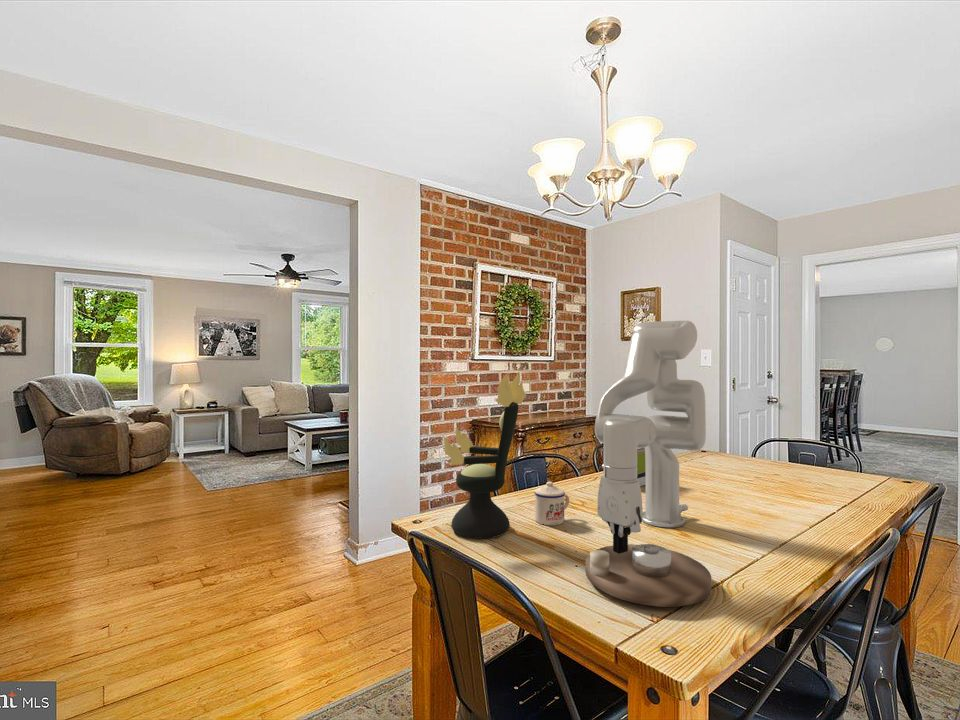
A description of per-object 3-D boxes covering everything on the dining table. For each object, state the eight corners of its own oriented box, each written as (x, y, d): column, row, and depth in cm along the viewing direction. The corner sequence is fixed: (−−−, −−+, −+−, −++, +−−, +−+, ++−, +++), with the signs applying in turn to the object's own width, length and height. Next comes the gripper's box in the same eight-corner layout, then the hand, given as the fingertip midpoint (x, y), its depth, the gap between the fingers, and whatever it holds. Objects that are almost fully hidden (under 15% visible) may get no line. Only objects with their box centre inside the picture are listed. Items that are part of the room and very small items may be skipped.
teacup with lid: (547, 528, 141) (547, 488, 141) (528, 519, 149) (528, 481, 149) (578, 520, 147) (578, 482, 147) (558, 512, 155) (558, 475, 155)
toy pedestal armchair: (454, 517, 151) (453, 371, 151) (526, 519, 149) (526, 371, 148) (443, 540, 132) (443, 373, 132) (526, 543, 130) (525, 373, 129)
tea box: (629, 478, 197) (628, 442, 197) (651, 483, 189) (651, 445, 189) (606, 485, 187) (606, 446, 187) (629, 490, 180) (629, 450, 179)
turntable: (664, 548, 123) (664, 524, 123) (740, 598, 97) (740, 568, 97) (567, 557, 117) (567, 532, 117) (621, 613, 92) (620, 581, 92)
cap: (647, 558, 112) (647, 537, 112) (678, 571, 105) (678, 548, 105) (624, 567, 107) (624, 544, 107) (655, 581, 101) (655, 557, 101)
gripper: (585, 468, 118) (585, 544, 118) (635, 482, 105) (635, 567, 105) (607, 464, 122) (607, 538, 122) (657, 477, 109) (658, 559, 109)
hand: (620, 551), depth 114 cm, fingers closed
